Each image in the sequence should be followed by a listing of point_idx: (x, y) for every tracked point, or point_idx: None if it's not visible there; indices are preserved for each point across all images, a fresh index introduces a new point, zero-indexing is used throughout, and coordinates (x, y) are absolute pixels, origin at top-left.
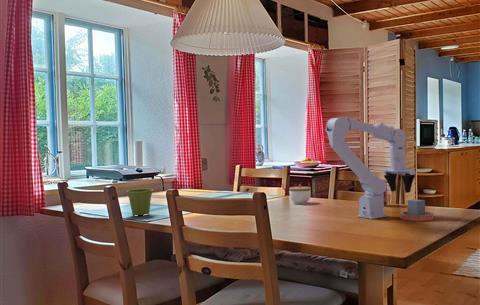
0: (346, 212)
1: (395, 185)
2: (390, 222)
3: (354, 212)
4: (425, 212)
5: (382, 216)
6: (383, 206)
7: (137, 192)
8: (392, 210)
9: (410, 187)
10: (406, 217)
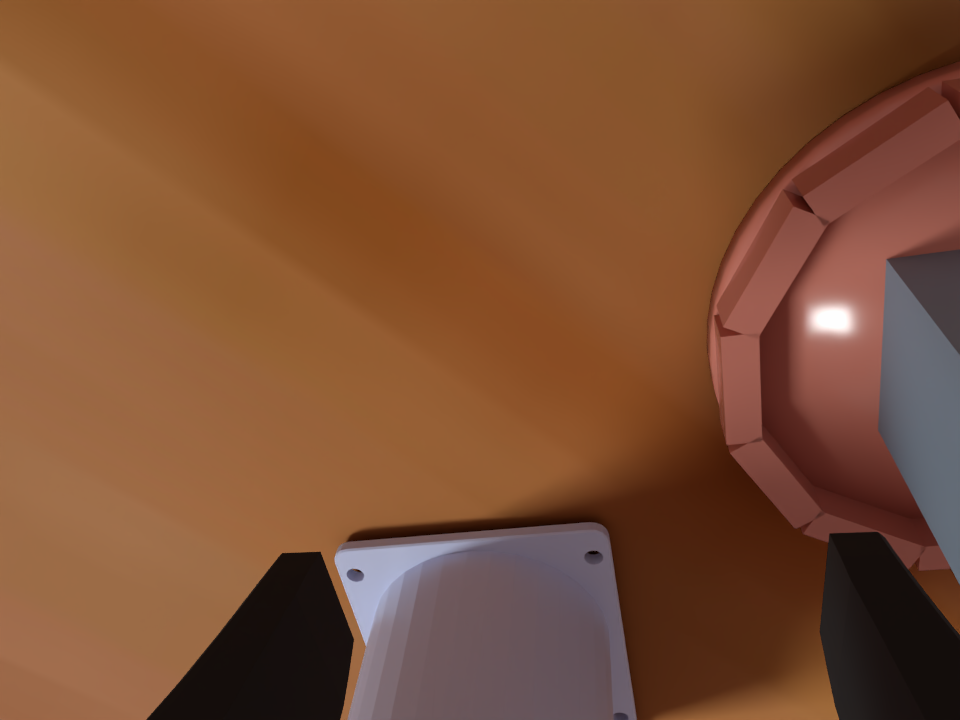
0: (83, 672)
1: (261, 676)
2: None
3: (110, 618)
4: None
5: (621, 622)
6: (582, 692)
7: None
8: (83, 103)
9: (949, 652)
10: None
